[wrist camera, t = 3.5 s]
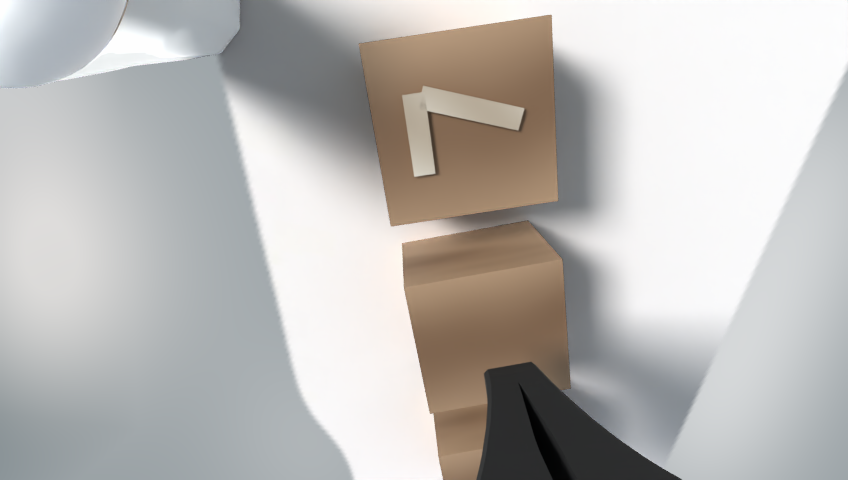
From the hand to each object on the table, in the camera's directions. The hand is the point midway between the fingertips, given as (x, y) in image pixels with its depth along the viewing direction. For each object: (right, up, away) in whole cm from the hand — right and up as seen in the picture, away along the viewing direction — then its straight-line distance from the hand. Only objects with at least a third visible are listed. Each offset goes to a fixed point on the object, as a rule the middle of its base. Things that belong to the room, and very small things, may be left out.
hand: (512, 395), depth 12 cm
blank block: (0, +2, +6) cm, 7 cm away
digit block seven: (-2, +9, +4) cm, 10 cm away
